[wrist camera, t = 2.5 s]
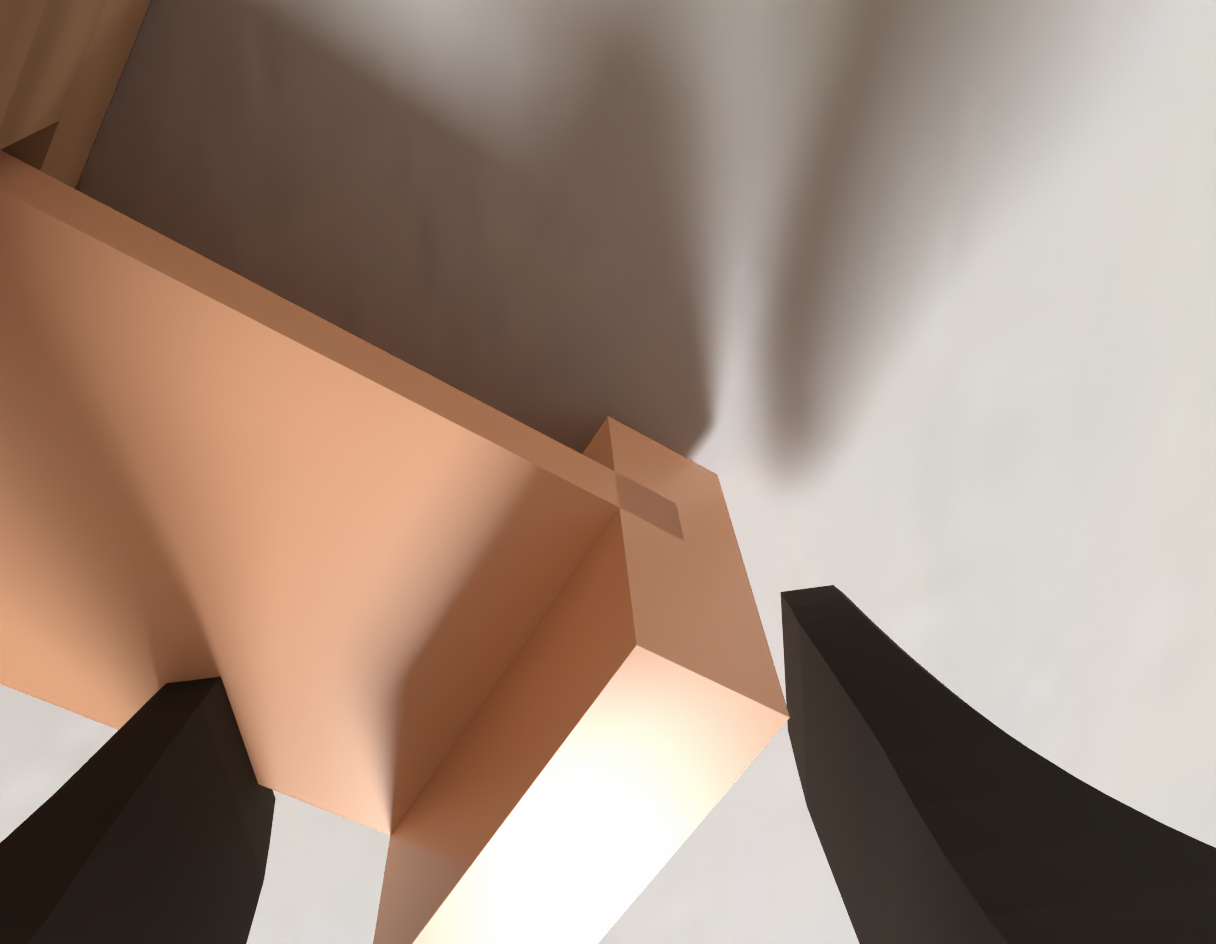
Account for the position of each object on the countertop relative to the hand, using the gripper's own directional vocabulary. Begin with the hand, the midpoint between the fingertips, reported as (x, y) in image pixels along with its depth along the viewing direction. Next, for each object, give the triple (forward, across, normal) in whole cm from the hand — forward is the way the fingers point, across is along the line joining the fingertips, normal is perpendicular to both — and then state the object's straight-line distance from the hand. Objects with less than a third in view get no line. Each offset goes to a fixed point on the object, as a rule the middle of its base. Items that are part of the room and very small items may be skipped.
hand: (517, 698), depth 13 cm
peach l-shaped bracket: (+2, +4, -4) cm, 6 cm away
